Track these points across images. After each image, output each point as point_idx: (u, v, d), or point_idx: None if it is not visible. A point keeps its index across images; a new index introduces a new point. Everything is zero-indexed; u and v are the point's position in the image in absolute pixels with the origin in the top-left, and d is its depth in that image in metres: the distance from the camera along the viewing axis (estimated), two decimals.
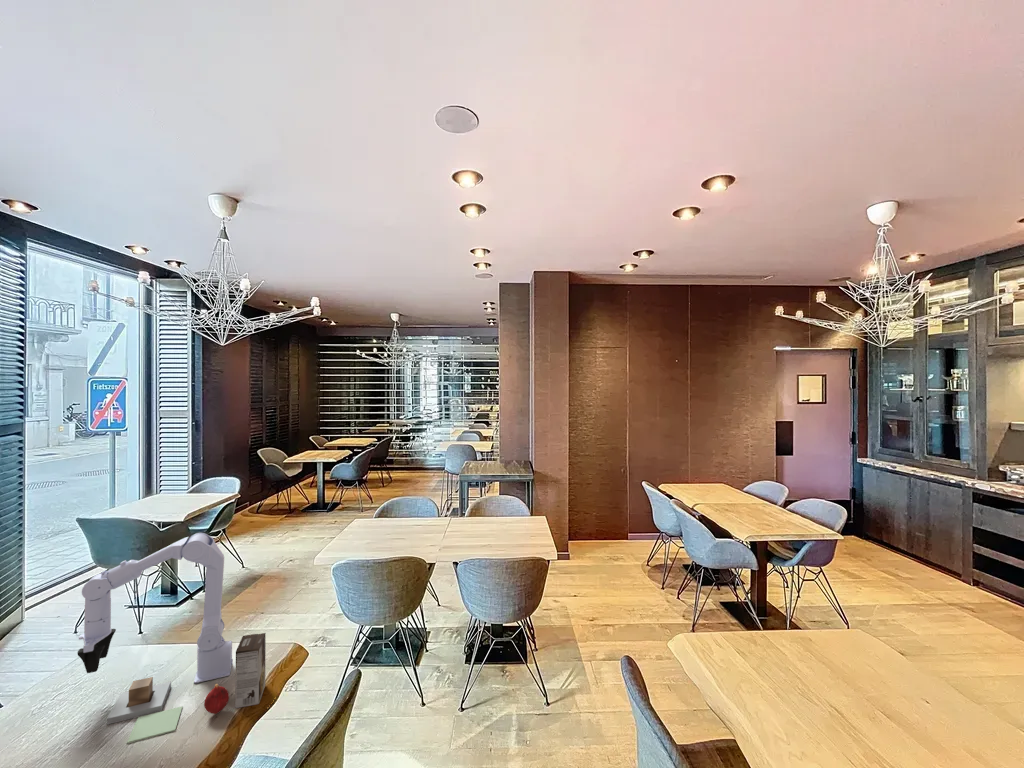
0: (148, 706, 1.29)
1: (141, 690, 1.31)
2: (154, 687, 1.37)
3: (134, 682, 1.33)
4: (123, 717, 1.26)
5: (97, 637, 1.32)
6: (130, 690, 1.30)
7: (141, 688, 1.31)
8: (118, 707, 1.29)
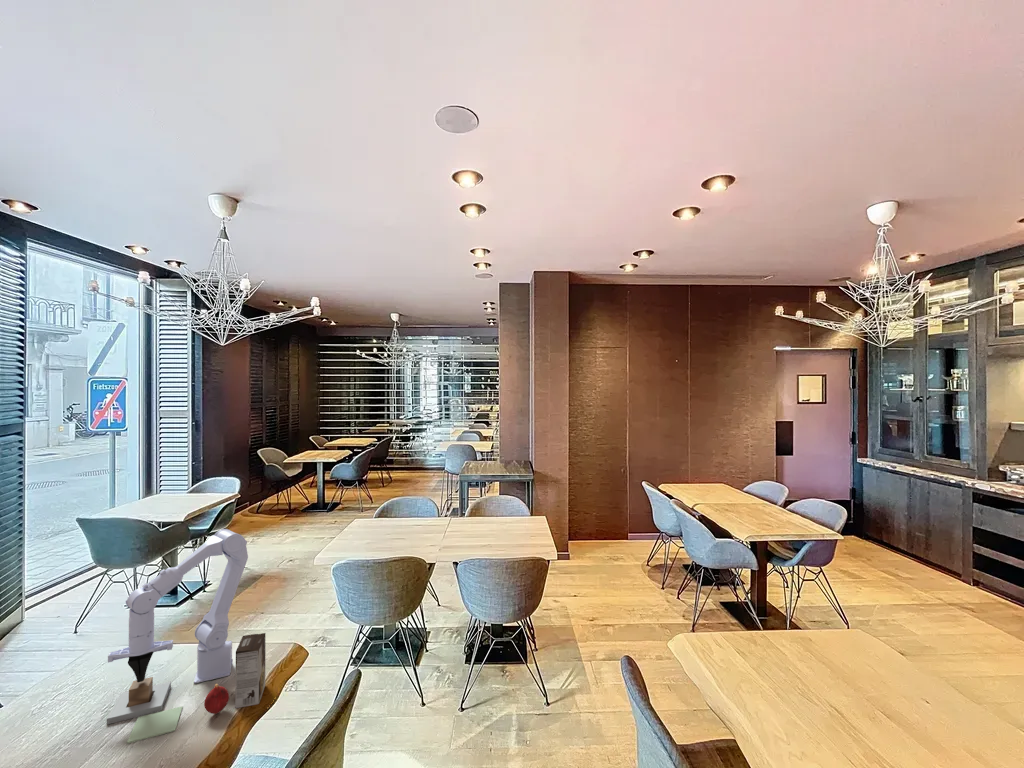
0: (148, 706, 1.29)
1: (141, 690, 1.31)
2: (154, 687, 1.37)
3: (134, 682, 1.33)
4: (123, 717, 1.26)
5: (127, 652, 1.31)
6: (130, 690, 1.30)
7: (141, 688, 1.31)
8: (118, 707, 1.29)
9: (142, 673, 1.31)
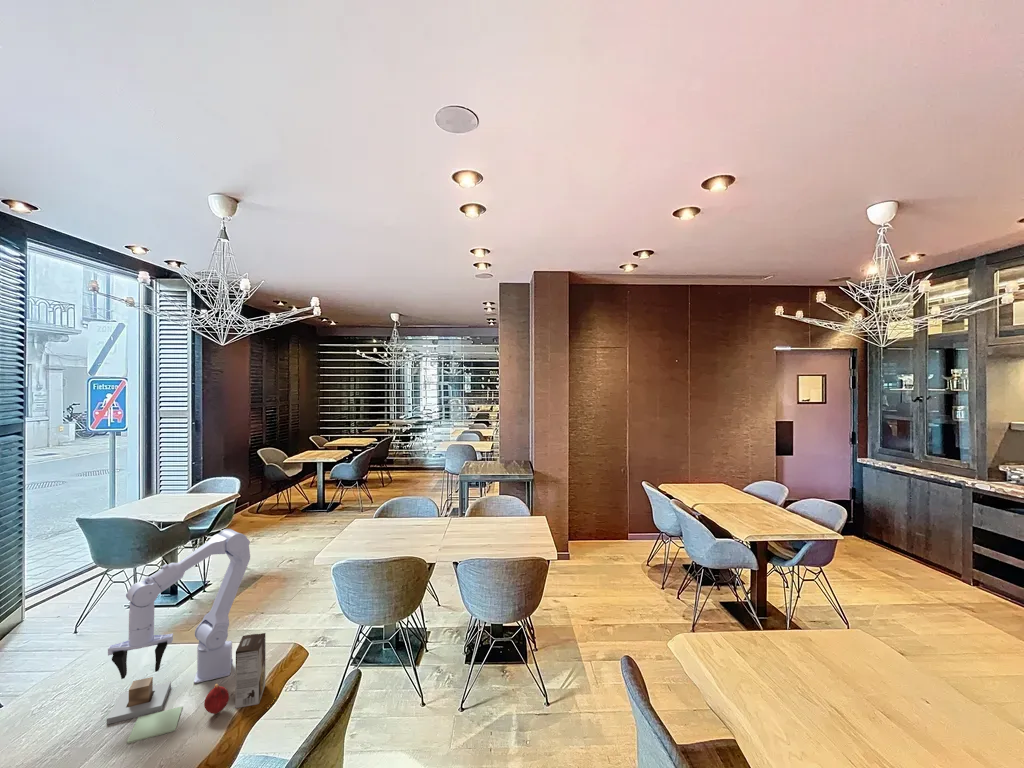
0: (148, 706, 1.29)
1: (141, 690, 1.31)
2: (154, 687, 1.37)
3: (134, 682, 1.33)
4: (123, 717, 1.26)
5: (127, 645, 1.31)
6: (130, 690, 1.30)
7: (141, 688, 1.31)
8: (118, 707, 1.29)
9: (157, 663, 1.33)
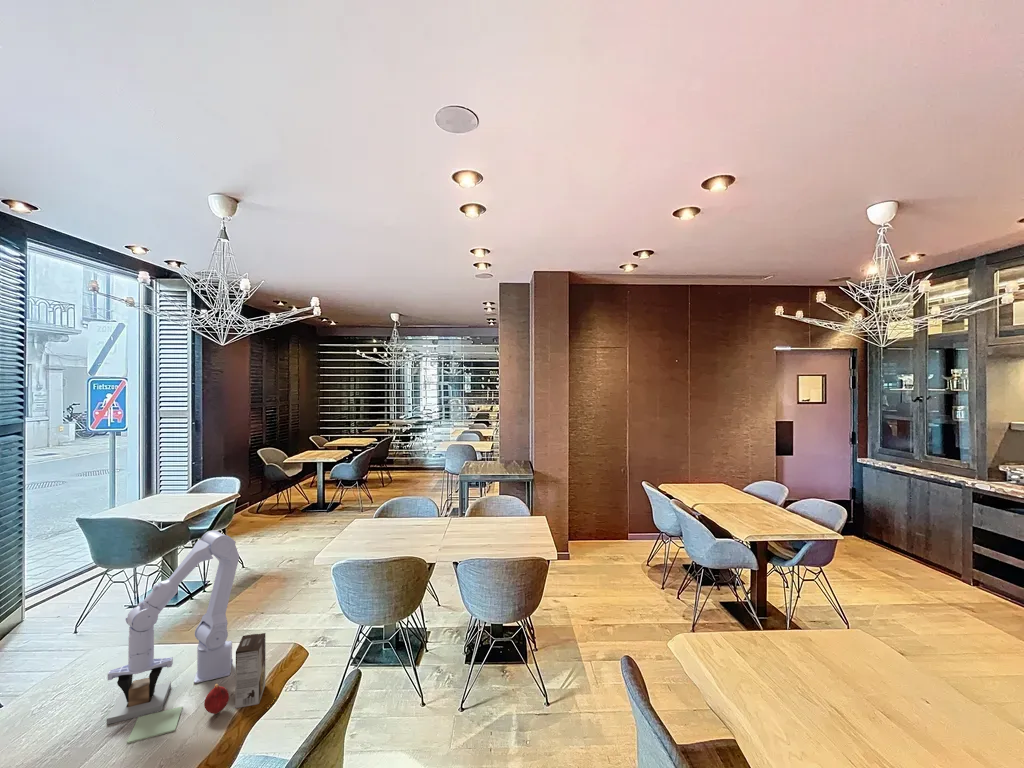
0: (148, 706, 1.29)
1: (141, 690, 1.31)
2: None
3: (134, 682, 1.33)
4: (123, 717, 1.26)
5: (127, 669, 1.31)
6: (130, 690, 1.30)
7: (141, 687, 1.31)
8: (118, 707, 1.29)
9: (151, 689, 1.32)
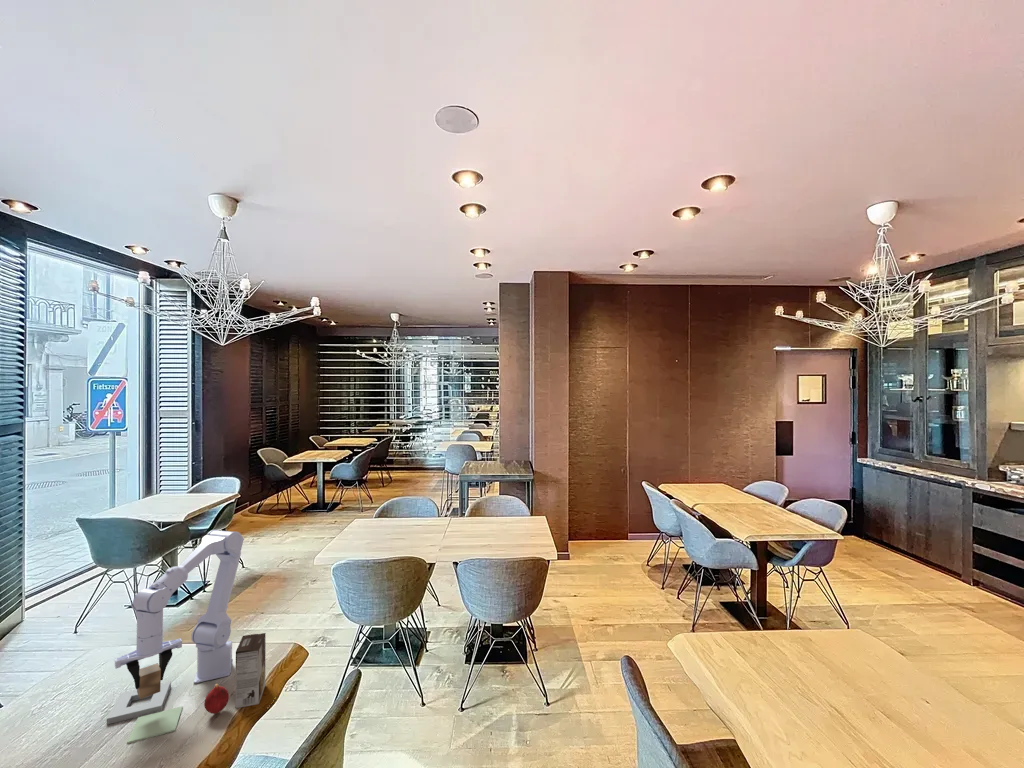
0: (148, 706, 1.29)
1: (153, 675, 1.27)
2: None
3: (140, 670, 1.28)
4: (123, 717, 1.26)
5: (136, 655, 1.25)
6: (141, 677, 1.25)
7: (153, 673, 1.27)
8: (118, 707, 1.29)
9: (162, 671, 1.29)
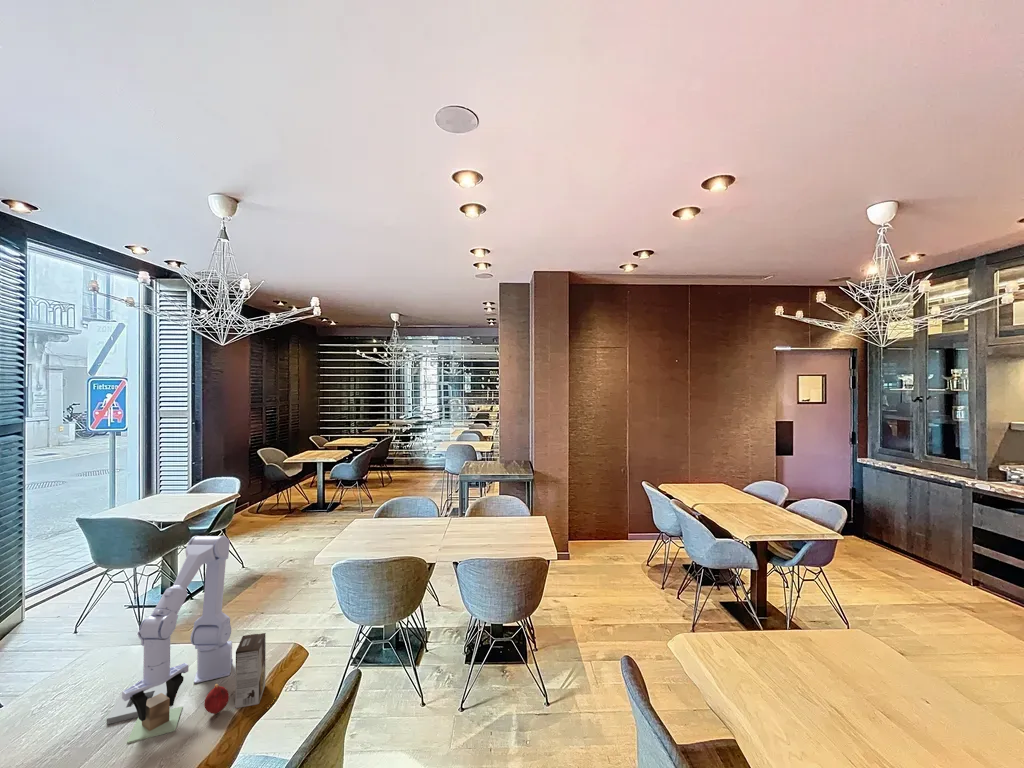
0: None
1: (162, 704, 1.24)
2: (154, 687, 1.37)
3: None
4: (123, 717, 1.26)
5: (145, 684, 1.22)
6: (151, 708, 1.22)
7: (162, 702, 1.24)
8: (118, 707, 1.29)
9: (174, 697, 1.27)
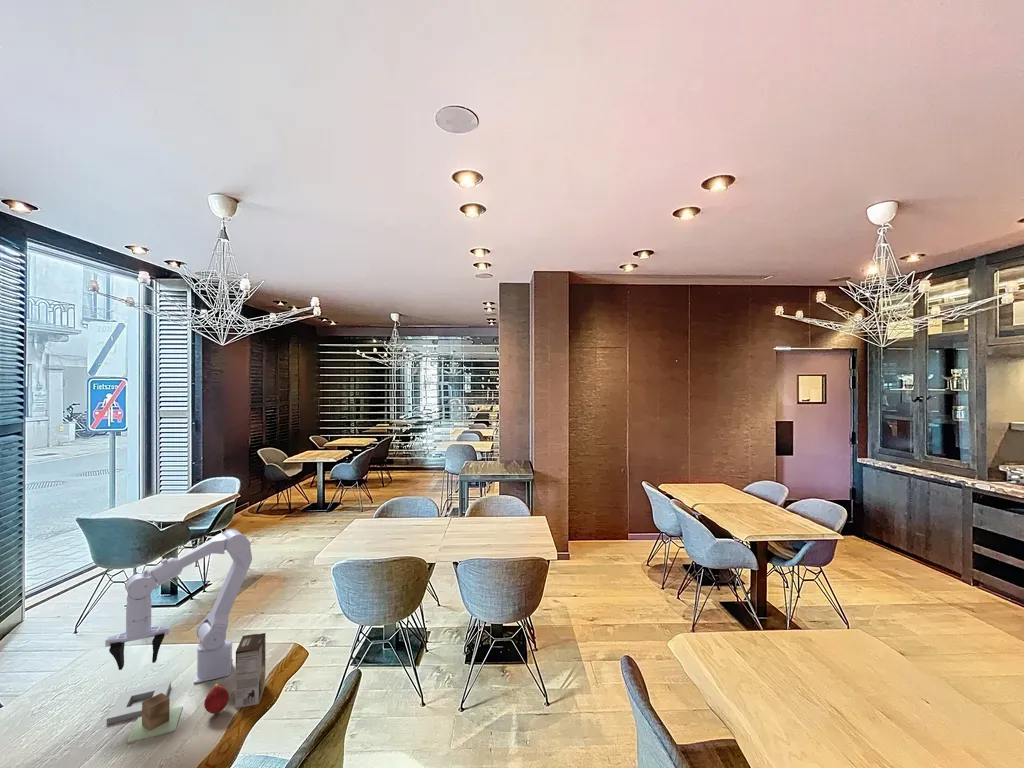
0: None
1: (162, 704, 1.24)
2: (154, 687, 1.37)
3: (145, 702, 1.24)
4: (123, 717, 1.26)
5: (125, 636, 1.32)
6: (151, 708, 1.22)
7: (162, 702, 1.24)
8: (118, 707, 1.29)
9: (154, 654, 1.35)
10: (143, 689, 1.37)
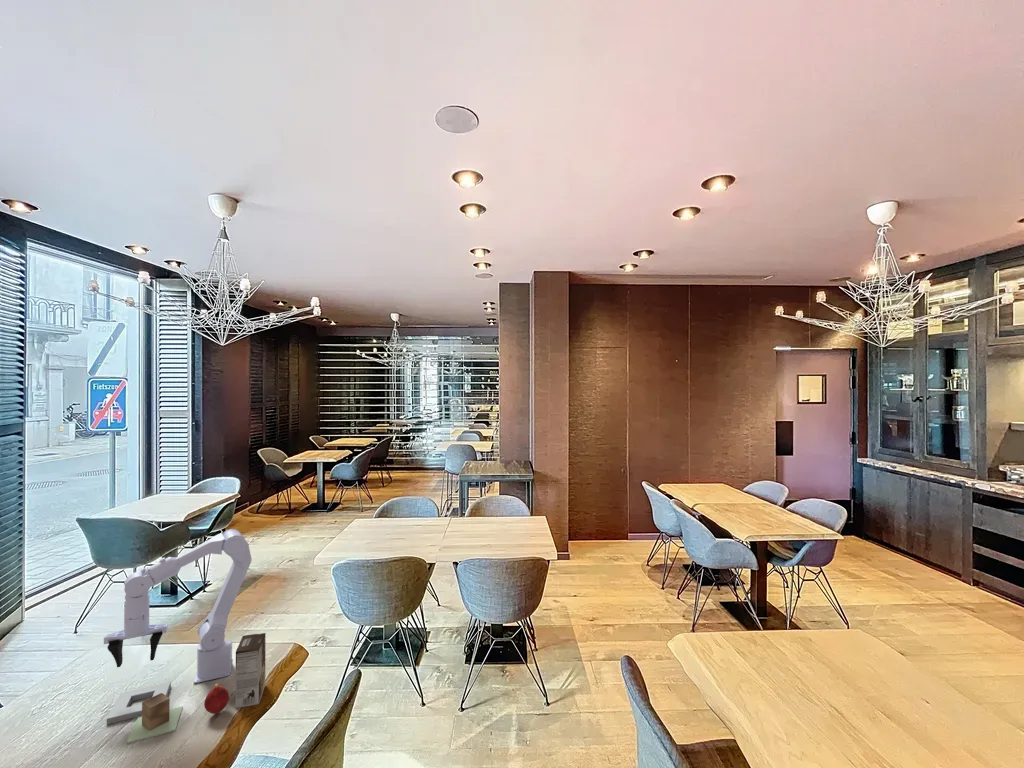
0: None
1: (162, 704, 1.24)
2: (154, 687, 1.37)
3: (145, 702, 1.24)
4: (123, 717, 1.26)
5: (123, 634, 1.33)
6: (151, 708, 1.22)
7: (162, 702, 1.24)
8: (118, 707, 1.29)
9: (152, 652, 1.36)
10: (143, 689, 1.37)
